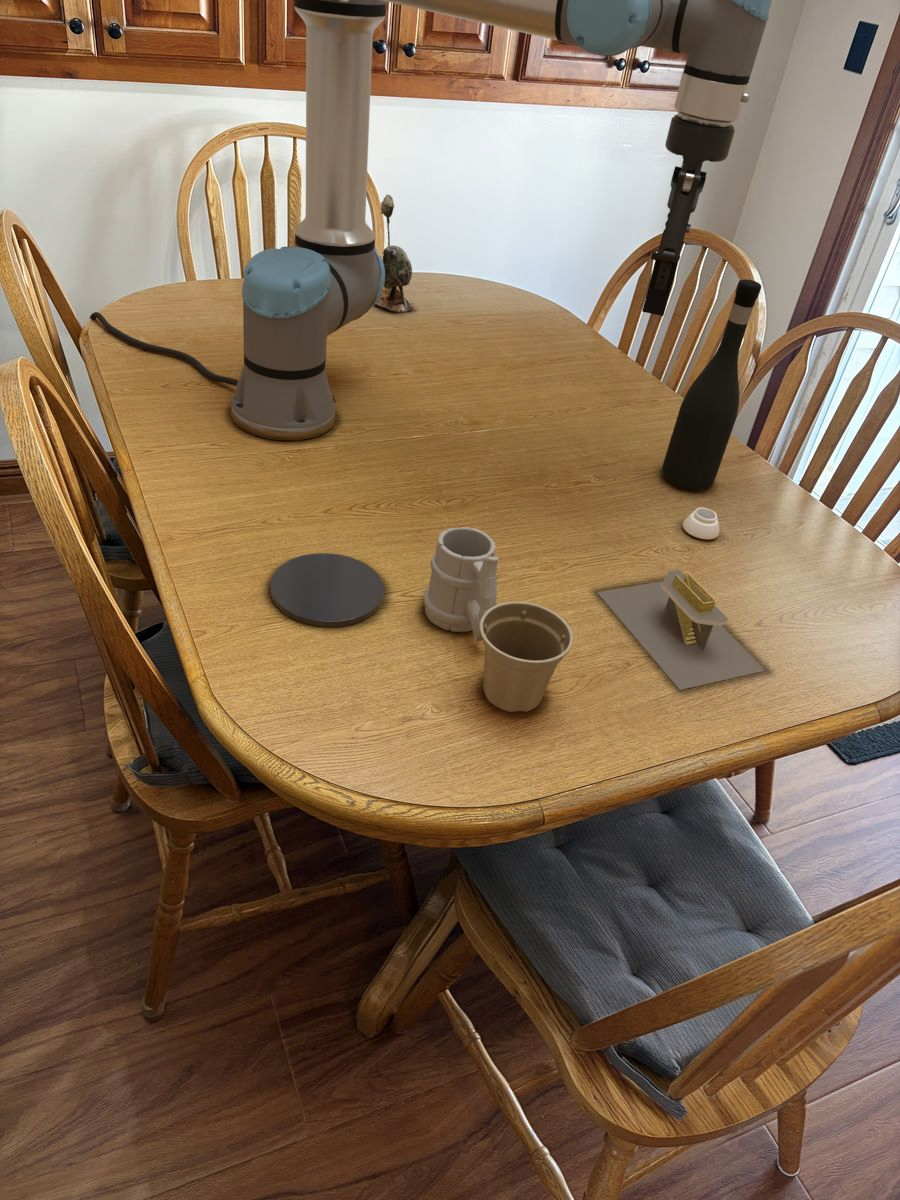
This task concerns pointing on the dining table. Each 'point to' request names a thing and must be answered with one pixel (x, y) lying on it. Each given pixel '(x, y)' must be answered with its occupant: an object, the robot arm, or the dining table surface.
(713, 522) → the small white bowl
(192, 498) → the dining table surface
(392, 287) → the plant with pod
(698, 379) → the wine bottle
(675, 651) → the platform
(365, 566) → the coaster
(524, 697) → the flower pot
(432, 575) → the mug
